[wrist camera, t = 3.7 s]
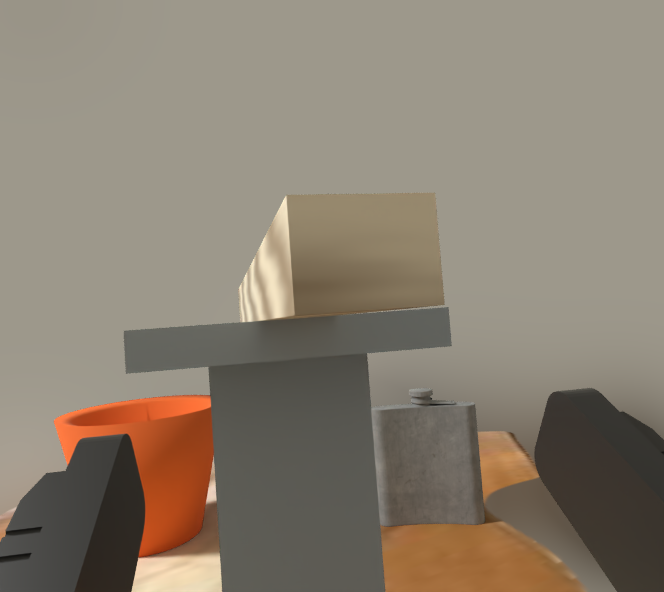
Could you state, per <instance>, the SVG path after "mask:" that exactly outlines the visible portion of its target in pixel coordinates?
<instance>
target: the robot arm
mask: <svg viewBox="0 0 664 592" xmlns="http://www.w3.org/2000/svg"><path fill="white" fill-rule="evenodd" d="M535 464H536V468H537V471H538V474H539V476H540V478H541V480H542V482H543V483H544V485H545V486H546V488H547V489H548V490H549V492H550V493H551V495H552V496H553V498H554V499H555V501H556V502H557V504H558V505H559V507H560V508H561V510H562V511H563V513H564V514H565V515H566V517H567V518H568V520H569V521H570V523H571V524H572V526H573V527H574V529H575V530H576V532H577V533H578V535H579V536H580V538H581V539H582V540H583V542H584V544H585V545H586V546H587V548H588V549H589V551H590V552H591V554H592V555H593V557H594V558H595V559H596V561H597V562H598V564H599V565H600V567H601V568H602V570H603V572H604V573H605V574H606V576H607V577H608V579H609V580H610V582H611V583H612V585H613V586H614V588H615V589H616V591H617V592H664V440H663V439H662V438H661V437H660V436H659V435H658V434H657V433H656V432H655V431H654V430H653V429H652V428H650V427H648V426H647V425H645V424H643V423H641V422H640V421H638V420H637V419H635V418H633V417H632V416H630V415H628V414H627V413H625V412H619V411H618V410H617V409H616V408H615V407H614V406H613V405H612V404H611V403H610V402H609V401H608V400H607V399H606V398H605V397H604V396H603V395H602V394H601V393H599V391H597V390H595V389H592V388H587V389H576V390H567V391H557V392H553V393H552V394H551V395H550V396H549V398H548V401H547V405H546V408H545V412H544V416H543V420H542V424H541V427H540V431H539V435H538V439H537V442H536V446H535ZM144 525H145V497H144V491H143V487H142V483H141V479H140V474H139V470H138V466H137V462H136V458H135V453H134V449H133V445H132V441H131V438H130V436H129V435H128V434H117V435H107V436H97V437H87V438H82V439H80V440H79V441H78V443H77V445H76V447H75V449H74V452H73V454H72V457H71V459H70V462H69V464H68V467H67V469H66V471H62V472H53V473H46V475H44V476H43V477H42V479H40V481H39V482H38V483H37V484H36V485H35V486H34V487H33V488H32V489H31V490H30V491H29V492H28V493H27V494H26V495H25V496H24V497H23V498H22V499H21V501H20V503H19V505H18V507H17V509H16V511H15V513H14V515H13V517H12V519H11V521H10V523H9V525H8V527H7V529H6V536H5V537H2V539H1V542H0V592H131V591H132V586H133V581H134V576H135V571H136V566H137V561H138V556H139V551H140V546H141V542H142V537H143V532H144Z"/></svg>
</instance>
